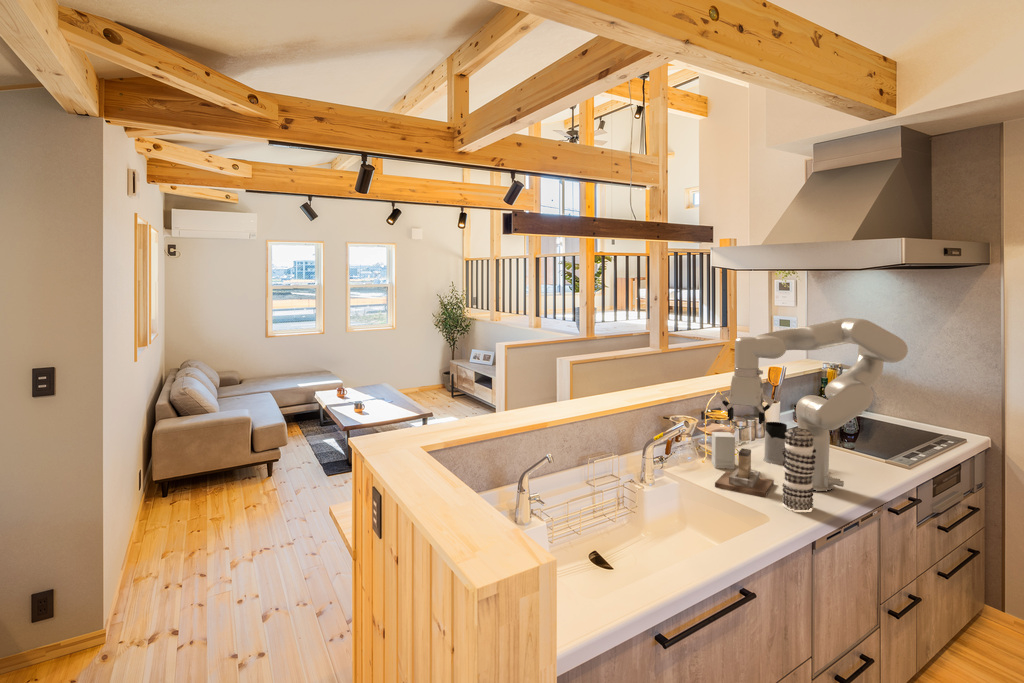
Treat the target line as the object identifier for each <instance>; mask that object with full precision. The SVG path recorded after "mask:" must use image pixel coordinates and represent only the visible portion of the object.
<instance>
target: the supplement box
mask: <svg viewBox="0 0 1024 683" xmlns="http://www.w3.org/2000/svg"><path fill="white" fill-rule="evenodd" d="M735 448H736V437H735V435H734V434H733V433H732V432H725V431H724V432H723V431H712V432H711V464H712V466H713V467H714V468H715V469H725V468H727V470H730V469H731V470H734V469H735V468H736V467H735V464H736V463H735V462H736V461H735V460H736V459H735V458H736V456H735V455H736V449H735Z"/></svg>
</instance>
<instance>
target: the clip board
mask: <svg viewBox="0 0 1024 683" xmlns="http://www.w3.org/2000/svg"><path fill="white" fill-rule="evenodd" d="M760 473H761V472H760V471H757V470H752V469H751V477H750V478H749V479H745V478H740V477H738V467H737V468H736V469H735V470H734V471H727V470H726V471H725V472H724V473H722V475H721V476H720V477H719V478H718V479H717V480H716V481H715V482H714V487H715V488H718V489H719V488H720V489H722V490H723V489H724V490H727V491H728V490H729V491H734V492H739V493H744V494H748V495H754V496H758V497H763V498H765V497H766V496H767V494H768V493H769V491H770V490H771V488H772V487H773V486H774V484H775V480H774V479H771V478H764V477H761V474H760Z"/></svg>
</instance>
